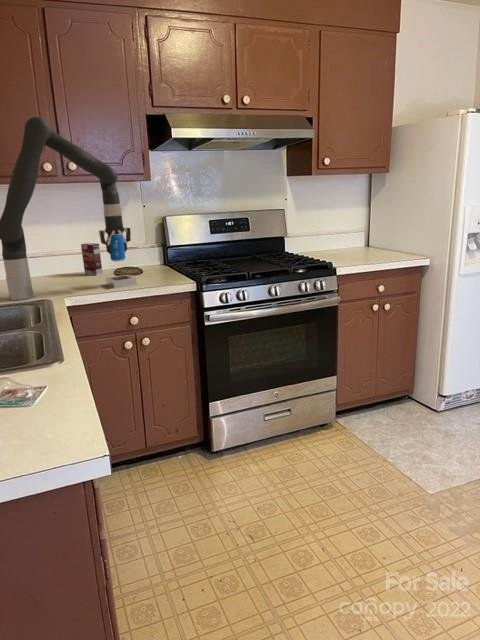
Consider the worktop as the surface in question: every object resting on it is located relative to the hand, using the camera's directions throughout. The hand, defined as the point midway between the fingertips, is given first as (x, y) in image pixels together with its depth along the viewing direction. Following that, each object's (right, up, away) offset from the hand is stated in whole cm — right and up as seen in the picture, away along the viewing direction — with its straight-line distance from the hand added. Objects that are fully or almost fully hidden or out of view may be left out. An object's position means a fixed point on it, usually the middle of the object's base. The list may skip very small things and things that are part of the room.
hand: (117, 252), depth 215 cm
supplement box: (-21, -7, +35) cm, 41 cm away
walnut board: (0, -15, +4) cm, 16 cm away
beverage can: (0, -4, +1) cm, 4 cm away
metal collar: (+1, -14, +5) cm, 15 cm away
